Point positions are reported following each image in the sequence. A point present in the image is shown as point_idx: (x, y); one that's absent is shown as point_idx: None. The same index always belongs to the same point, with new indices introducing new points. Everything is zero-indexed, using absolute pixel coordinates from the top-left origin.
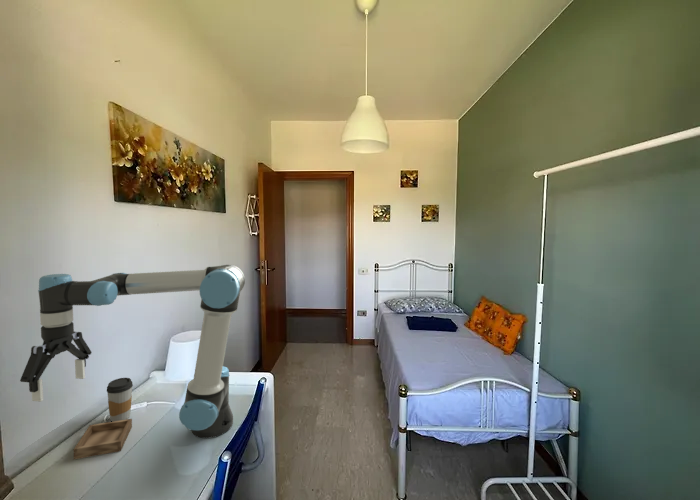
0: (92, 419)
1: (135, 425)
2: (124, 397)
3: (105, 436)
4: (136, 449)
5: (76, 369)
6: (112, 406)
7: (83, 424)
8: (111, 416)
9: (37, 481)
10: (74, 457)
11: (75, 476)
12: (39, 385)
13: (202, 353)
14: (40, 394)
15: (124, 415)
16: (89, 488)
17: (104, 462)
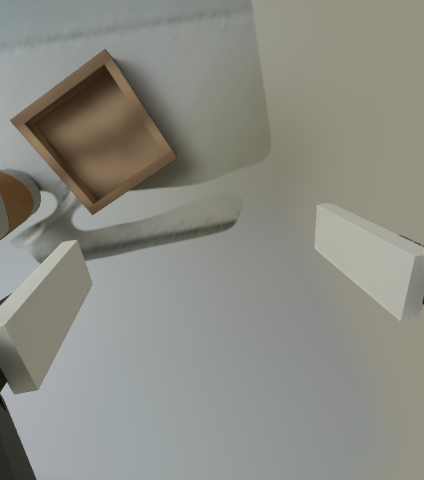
0: None
1: None
2: None
3: (94, 150)
4: (89, 10)
5: (69, 314)
6: (15, 202)
7: None
8: (34, 201)
9: (243, 164)
10: (175, 154)
11: (214, 94)
12: (399, 238)
13: None
14: (353, 214)
15: (8, 171)
16: (236, 15)
17: (160, 64)
